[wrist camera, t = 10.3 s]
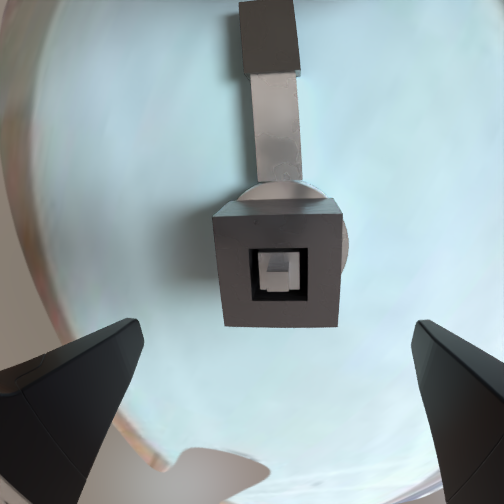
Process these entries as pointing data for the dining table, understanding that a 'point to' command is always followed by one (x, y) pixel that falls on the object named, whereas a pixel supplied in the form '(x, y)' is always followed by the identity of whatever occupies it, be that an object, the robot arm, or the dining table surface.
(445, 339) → the robot arm
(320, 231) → the socket
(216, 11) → the dining table surface
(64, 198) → the dining table surface
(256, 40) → the ratchet
